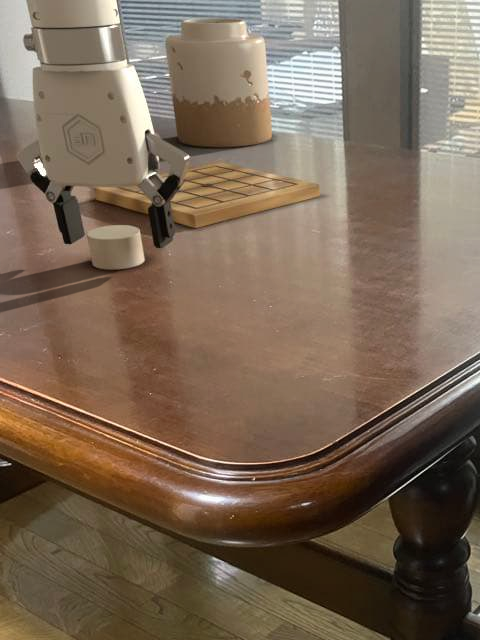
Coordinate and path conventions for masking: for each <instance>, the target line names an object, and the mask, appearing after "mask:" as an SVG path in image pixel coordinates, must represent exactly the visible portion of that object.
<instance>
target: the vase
mask: <svg viewBox="0 0 480 640" xmlns="http://www.w3.org/2000/svg"><path fill="white" fill-rule="evenodd" d="M247 28H248V27H247V23H246V20H244V19H240V18H226V17H225V18H223V17H221V18H219V17H218V18H217V17H216V18H215V17H213V18H191V19H184V20H181V21H180V34H174V35H170V36H167V37H166V38H165V41H164V44H165V54H166V61H167V69H168V75H169V84H170V91H171V99H172V106H173V114H174V120H175V128H176V134H177V139H178V141H179V142H180V143H182V144H184V145H188V146H193V147H201V148H239V147H247V146H253V145H254V146H255V145H259V144H262V143H263V144H264V143H266V142H268V141H269V140H271V139H272V136H273V130H272V115H271V114H272V113H271V102H270V89H269V87H270V86H269V77H268V62H267V51H266V49H267V48H266V41H265V38H264V37H263V36H262V35H260V34H255V33H248V29H247Z"/></svg>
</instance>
